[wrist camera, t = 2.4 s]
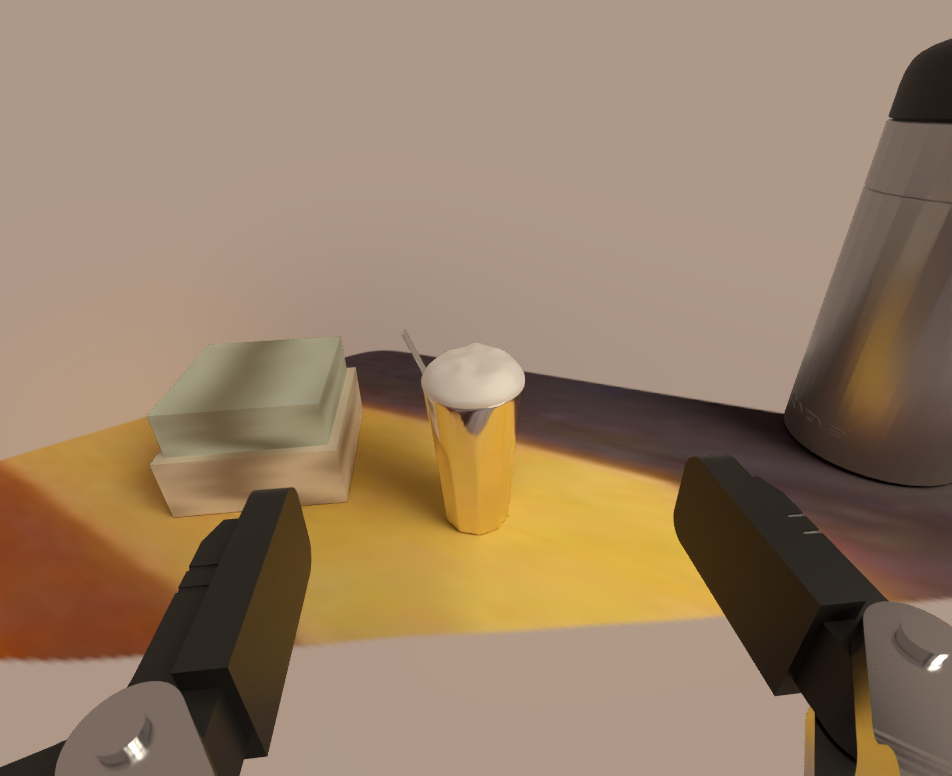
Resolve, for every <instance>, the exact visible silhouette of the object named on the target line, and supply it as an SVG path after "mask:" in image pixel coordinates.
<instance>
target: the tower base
mask: <svg viewBox="0 0 952 776" xmlns="http://www.w3.org/2000/svg"><path fill="white" fill-rule="evenodd" d="M362 414H363V409H362V403H361V397H360V391H359V385H358V379H357V373H356V367H353V368H346V363H345V358H344V352H343V346H342V341H341V337H340V336H338V337H322V338H307V339H291V340H275V341H260V342H244V343H227V344H212V345H208V346H207V347H206V348H205V349H204V350H203V352H202V353H201V354H200V355H199V356H198V357H197V358H196V360H195V361H194V362H193V363H192V364H191V366H190V367H189V368H188V369H187V370H186V371H185V373H184V374H183V375H182V376H181V377H180V378H179V379H178V380H177V382H176V383H175V384H174V385H173V386H172V387H171V388H170V390H169V391H168V392H167V393H166V394H165V395H164V397H163V398H162V399H161V400H160V401H159V403H158V404H157V405H156V406H155V407H154V408H153V410H151V412H150V413H149V414H148V415H147V418H148V421H149V423H150V425H151V428H152V430H153V432H154V435H155V437H156V439H157V441H158V444H159V446H160V448H161V450H160V452H159V453H158V454H157V456H156V457H155V458H154V460H153V461H152V462H151V464H150V467H151V470H152V472H153V474H154V476H155V478H156V480H157V483H158V485H159V487H160V489H161V491H162V494H163V496H164V498H165V500H166V502H167V504H168V507H169V509H170V511H171V513H172V515H173V517H183V516H194V515H205V514H216V513H227V512H238V511H242V510H243V508H244V506H245V504H246V501H247V499H248V497H249V495H250V493H251V492H252V491H254V490H262V489H275V488H288V487H294V488H295V489H296V491H297V493H298V497H299V501H300V505H301V506H305V505H316V504H328V503H339V502H347V500H348V494H349V489H350V483H351V477H352V471H353V466H354V460H355V454H356V448H357V443H358V437H359V431H360V425H361V420H362Z"/></svg>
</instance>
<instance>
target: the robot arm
mask: <svg viewBox="0 0 952 776" xmlns="http://www.w3.org/2000/svg"><path fill="white" fill-rule="evenodd" d="M889 117H890V118H893V119H889V120H888V121H886V124H885V127H884V130H883V133H882V136H881V138H880V141H879V144H878V147H877V150H876V153H875V156H874V158H873V161H872V164H871V167H870V170H869V173H868V175H867V178H866V181H865V186H864V187H863V190H862V193H861V196H860V199H859V202H858V204H857V208H856V210H855V213H854V216H853V219H852V222H851V224H850V227H849V230H848V233H847V236H846V239H845V241H844V244H843V247H842V250H841V253H840V256H839V258H838V261H837V264H836V267H835V270H834V273H833V276H832V278H831V281H830V284H829V287H828V290H827V292H826V295H825V298H824V301H823V304H822V307H821V310H820V313H819V315H818V319H817V321H816V324H815V327H814V330H813V332H812V335H811V338H810V341H809V344H808V347H807V349H806V352H805V355H804V358H803V361H802V363H801V366H800V369H799V372H798V375H797V378H796V381H795V384H794V387H793V389H792V393H791V395H790V398H789V401H788V404H787V407H786V410H785V413H784V416H783V417H784V423H785V425H786V427H787V429H788V431H789V432H790V433H791V434H792V435H793V437H794V438H795V439H796V440H797V441H798V442H799V443H801V444H802V445H803V446H805V447H806V448H807V449H809V450H810V451H811V452H813V453H815V454H817V455H818V456H820V457H822V458H823V459H825V460H827V461H829V462H831V463H833V464H836V465H838V466H840V467H842V468H844V469H847V470H850V471H853V472H855V473H858V474H861V475H864V476H867V477H871V478H875V479H879V480H882V481H886V482H891V483H898V484H904V485H912V486H937V485H946V484H949V483H952V39H949V40H946V41H944V42H941V43H939V44H936V45H934V46H932V47H930V48H928V49H927V50H924V51H923V52H921V53H920V54H919V55H917V56H916V57H915V58H914V59H913V60H912V62H911V63H910V65H909V66H908V68H907V70H906V71H905V73H904V75H903V78H902V80H901V82H900V85H899V88H898V91H897V93H896V96H895V99H894V102H893V105H892V108H891V110H890V113H889ZM802 513H803V512H802V511H801V510H800V509H799V508H798V507H797V506H796V505H795V504H794V503H793V502H792V501H791V500H790V499H789V498H788V497H787V496H786V495H785V494H784V493H783V492H781V491H780V490H778V489H777V488H775V487H773V486H772V485H770V484H769V483H767V482H765V481H764V480H762V479H761V478H759V477H752V476H751V475H750V474H749V473H748V472H747V471H746V470H745V469H744V468H743V467H742V466H741V465H740V464H739V462H738V461H737V460H736V459H735V458H734V457H732V456H731V455H728V454H720V455H708V456H695V457H690V458H689V459H688V460H687V462H686V465H685V468H684V472H683V476H682V480H681V484H680V489H679V493H678V497H677V501H676V505H675V509H674V526H675V531H676V534H677V537H678V539H679V541H680V543H681V545H682V546H683V548H684V549H685V551H686V553H687V554H688V556H689V558H690V559H691V561H692V562H693V564H694V566H695V567H696V569H697V571H698V572H699V574H700V575H701V577H702V579H703V580H704V582H705V584H706V585H707V587H708V588H709V590H710V592H711V593H712V595H713V597H714V598H715V600H716V601H717V603H718V605H719V606H720V608H721V610H722V611H723V613H724V614H725V616H726V618H727V619H728V621H729V623H730V624H731V626H732V627H733V629H734V631H735V632H736V634H737V636H738V637H739V639H740V640H741V642H742V643H743V645H744V647H745V648H746V650H747V652H748V653H749V655H750V656H751V658H752V660H753V662H754V663H755V665H756V666H757V668H758V670H759V671H760V673H761V674H762V676H763V678H764V679H765V681H766V683H767V684H768V686H769V687H770V689H771V691H772V692H773V694H774V696H780V695H788V694H796V693H802V695H803V696H804V698H805V699H806V701H807V702H808V704H809V705H810V707H809V709H808V711H807V713H806V719H805V762H804V764H805V765H804V776H952V627H951V626H950V625H949V624H947V623H946V622H944V621H943V620H941V619H939V618H938V617H936V616H934V615H932V614H930V613H928V612H926V611H924V610H921V609H919V608H916V607H914V606H910V605H907V604H903V603H898V602H890V601H888V600H887V599H886V598H885V597H884V596H883V595H882V594H881V593H880V592H879V591H878V590H877V589H876V588H875V587H874V586H873V585H872V584H871V583H870V582H869V581H868V579H867V578H866V577H865V576H864V575H863V574H862V573H861V572H860V571H859V570H858V569H857V568H856V567H855V566H854V565H853V564H852V563H851V562H850V561H849V560H848V559H847V558H846V557H845V556H844V555H843V554H842V553H841V552H840V551H839V550H838V549H837V548H836V546H835V545H834V544H833V543H832V542H831V541H830V540H829V539H828V538H827V537H826V536H825V535H824V534H823V533H821V534H820V533H819V531H818V528H817V527H816V526H815V525H814V524H813V523H812V522H811V521H810V520H809V519H808V518H807V517H804V516H803V515H802ZM310 570H311V546H310V540H309V536H308V532H307V528H306V525H305V521H304V517H303V513H302V509H301V505H300V501H299V497H298V493H297V491H296V489H295V488H294V487H288V488H275V489H262V490H254V491H252V492H251V493H250V495H249V497H248V499H247V501H246V504H245V506H244V508H243V510H242V513H241V515H240V517H239V519H228V520H223V521H222V522H221V523H220V524H219V525H218V526H217V527H216V528H215V529H214V530H213V531H212V532H211V533H210V534H209V535H208V536H207V537H206V538H205V539H204V540H203V541H202V542H201V544H200V546H199V548H198V550H197V552H196V554H195V556H194V558H193V560H192V562H191V564H190V566H189V571H187V572H186V574H185V576H184V577H183V579H182V581H181V583H180V585H179V587H178V588H179V591H178V593H175V595H174V597H173V599H172V601H171V603H170V605H169V607H168V609H167V611H166V613H165V615H164V617H163V619H162V621H161V623H160V625H159V627H158V629H157V631H156V633H155V635H154V637H153V639H152V641H151V643H150V645H149V647H148V649H147V651H146V653H145V655H144V657H143V659H142V661H141V663H140V665H139V667H138V669H137V670H136V673H135V674H134V676H133V678H132V680H131V682H130V683H129V685H128V687H127V688H126V689H123V690H121V691H119V692H117V693H116V694H114V695H112V696H110V697H109V698H108V699H106V700H105V701H103V702H102V703H100V704H99V705H98V706H97V707H96V708H94V709H93V710H92V711H91V712H90V713H89V714H88V715H87V716H86V717H85V718H84V719H83V720H82V721H81V722H80V723H79V725H78V726H77V727H76V728H75V729H74V731H73V732H72V733H71V735H70V736H69V738H68V739H67V740H65V741H62V742H60V743H59V744H56V745H54V746H52V747H49V748H47V749H44V750H42V751H39V752H37V753H34V754H32V755H29V756H27V757H25V758H22V759H20V760H17V761H15V762H12V763H10V764H8V765H5V766H3V767H0V776H239V775H240V771H241V767H242V764H243V760H244V759H250V758H257V757H266V756H268V751H269V747H270V742H271V738H272V734H273V730H274V726H275V721H276V717H277V713H278V709H279V704H280V700H281V696H282V691H283V687H284V683H285V678H286V674H287V670H288V666H289V661H290V657H291V653H292V649H293V644H294V640H295V636H296V632H297V627H298V623H299V619H300V614H301V610H302V606H303V602H304V597H305V593H306V589H307V584H308V580H309V576H310Z"/></svg>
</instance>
